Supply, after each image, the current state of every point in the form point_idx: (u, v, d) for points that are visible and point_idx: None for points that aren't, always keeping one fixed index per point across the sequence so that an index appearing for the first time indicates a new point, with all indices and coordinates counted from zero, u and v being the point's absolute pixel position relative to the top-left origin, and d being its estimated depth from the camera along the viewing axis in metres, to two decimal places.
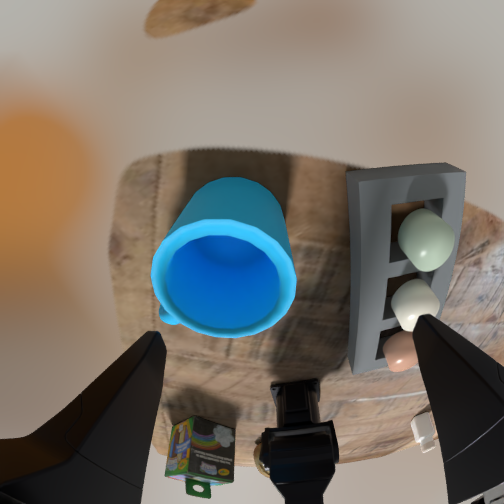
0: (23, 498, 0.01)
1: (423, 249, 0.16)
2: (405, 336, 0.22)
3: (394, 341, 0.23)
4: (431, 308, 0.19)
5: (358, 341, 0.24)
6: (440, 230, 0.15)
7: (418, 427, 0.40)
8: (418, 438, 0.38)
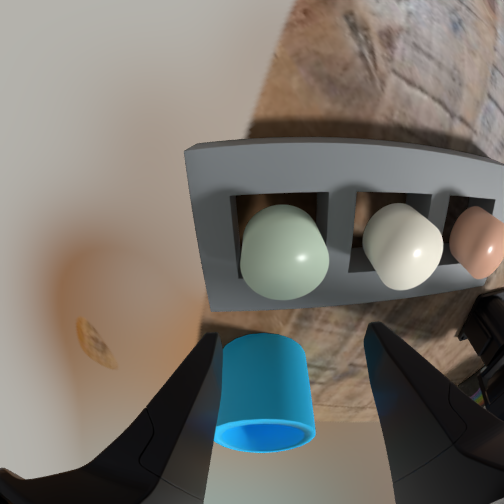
0: None
1: (284, 283, 0.13)
2: (457, 240, 0.13)
3: (456, 256, 0.13)
4: (411, 238, 0.11)
5: (433, 291, 0.16)
6: (255, 259, 0.12)
7: None
8: None
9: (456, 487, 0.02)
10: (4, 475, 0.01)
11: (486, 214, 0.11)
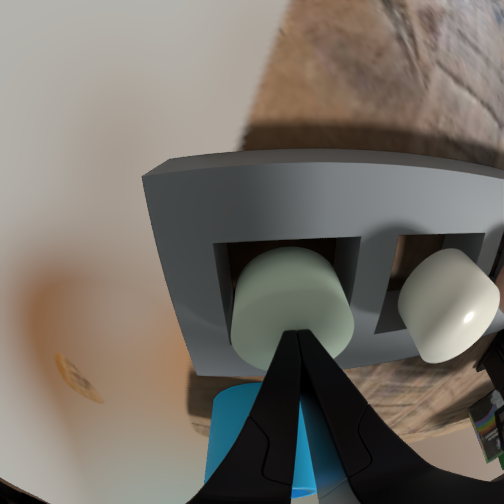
0: None
1: None
2: None
3: (499, 305, 0.09)
4: (468, 306, 0.07)
5: None
6: (251, 332, 0.08)
7: None
8: None
9: None
10: None
11: None
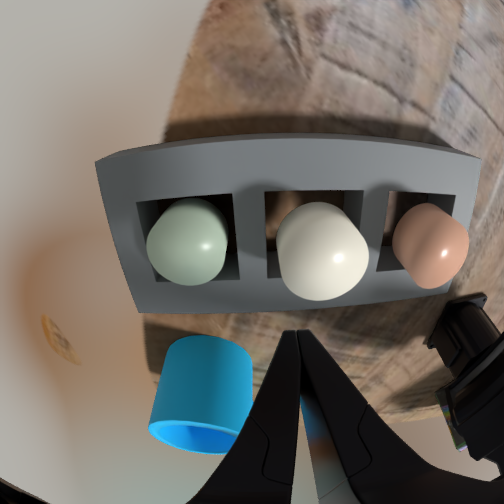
0: None
1: (187, 270, 0.14)
2: (399, 244, 0.13)
3: (400, 262, 0.13)
4: (320, 243, 0.11)
5: (379, 299, 0.16)
6: (158, 247, 0.13)
7: None
8: None
9: None
10: None
11: (437, 213, 0.11)
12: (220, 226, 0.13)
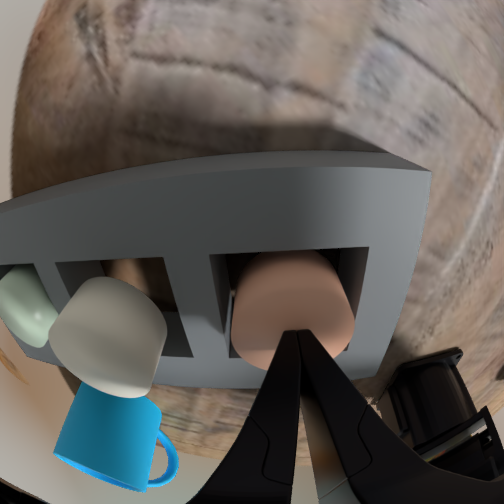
0: None
1: (25, 333, 0.10)
2: None
3: None
4: (74, 342, 0.07)
5: (251, 385, 0.12)
6: (1, 310, 0.09)
7: None
8: None
9: None
10: None
11: (284, 268, 0.08)
12: (37, 295, 0.09)
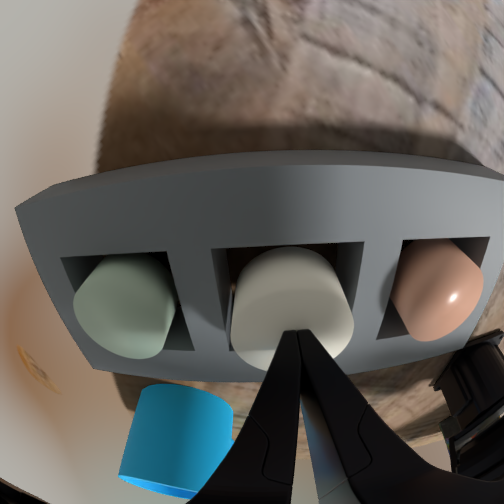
0: None
1: (124, 343, 0.10)
2: (395, 288, 0.10)
3: None
4: (282, 314, 0.08)
5: (378, 366, 0.12)
6: (86, 316, 0.09)
7: None
8: None
9: None
10: None
11: (446, 250, 0.08)
12: (157, 293, 0.09)
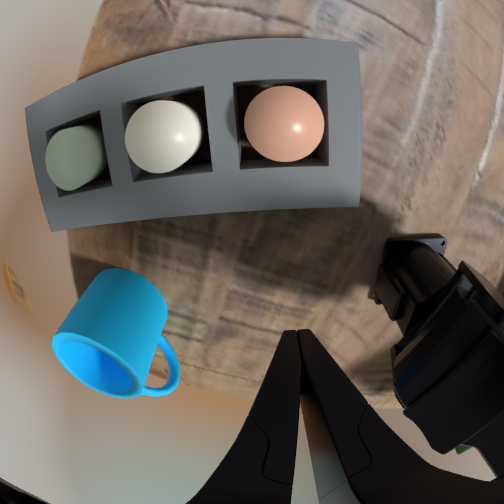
0: None
1: (68, 175, 0.13)
2: None
3: None
4: (149, 118, 0.12)
5: (256, 206, 0.16)
6: (51, 159, 0.13)
7: None
8: None
9: None
10: None
11: None
12: (93, 137, 0.13)
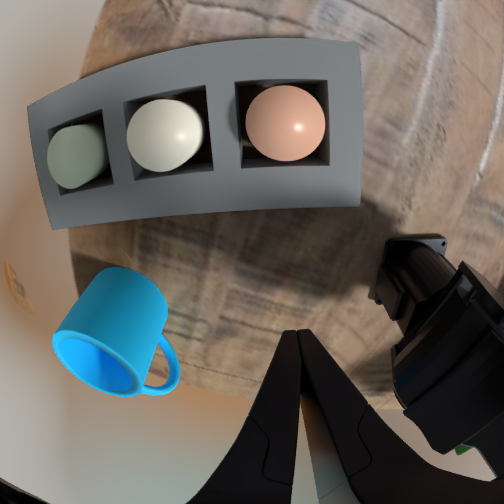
0: None
1: (70, 173, 0.13)
2: None
3: None
4: (151, 117, 0.12)
5: (257, 205, 0.16)
6: (53, 157, 0.13)
7: None
8: None
9: None
10: None
11: None
12: (95, 136, 0.13)
